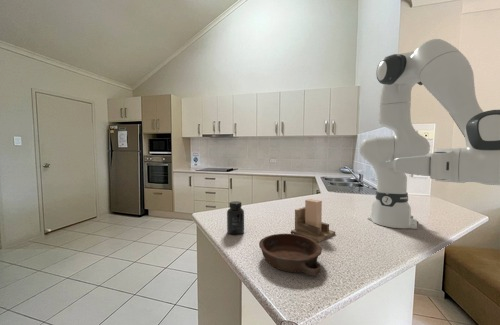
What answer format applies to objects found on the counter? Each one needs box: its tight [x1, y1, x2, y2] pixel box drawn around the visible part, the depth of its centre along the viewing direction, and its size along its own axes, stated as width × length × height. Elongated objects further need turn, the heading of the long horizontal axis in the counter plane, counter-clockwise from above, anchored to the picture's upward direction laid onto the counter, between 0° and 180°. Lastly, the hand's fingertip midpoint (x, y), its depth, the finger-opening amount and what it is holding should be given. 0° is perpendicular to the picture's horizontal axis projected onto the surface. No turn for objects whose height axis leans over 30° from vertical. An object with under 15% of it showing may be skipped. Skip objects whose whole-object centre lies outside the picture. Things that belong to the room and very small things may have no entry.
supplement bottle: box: [226, 200, 245, 236], centre depth 83 cm, size 7×7×12 cm
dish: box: [258, 233, 323, 277], centre depth 61 cm, size 17×22×5 cm
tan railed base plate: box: [290, 206, 336, 244], centre depth 82 cm, size 12×12×9 cm
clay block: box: [304, 198, 323, 232], centre depth 82 cm, size 4×5×12 cm
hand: (385, 163), depth 66 cm, fingers open, 8 cm apart
